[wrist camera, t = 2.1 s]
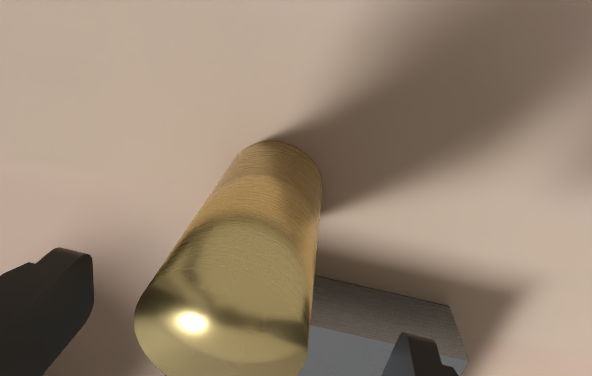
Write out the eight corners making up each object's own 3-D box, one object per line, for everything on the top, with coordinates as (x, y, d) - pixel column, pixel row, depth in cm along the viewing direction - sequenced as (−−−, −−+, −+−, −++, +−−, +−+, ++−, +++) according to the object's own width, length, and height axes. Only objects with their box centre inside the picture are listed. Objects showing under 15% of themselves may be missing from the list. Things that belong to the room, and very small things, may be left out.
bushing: (233, 131, 15) (134, 250, 8) (332, 153, 15) (326, 294, 8) (222, 216, 17) (133, 377, 9) (310, 236, 17) (289, 413, 9)
